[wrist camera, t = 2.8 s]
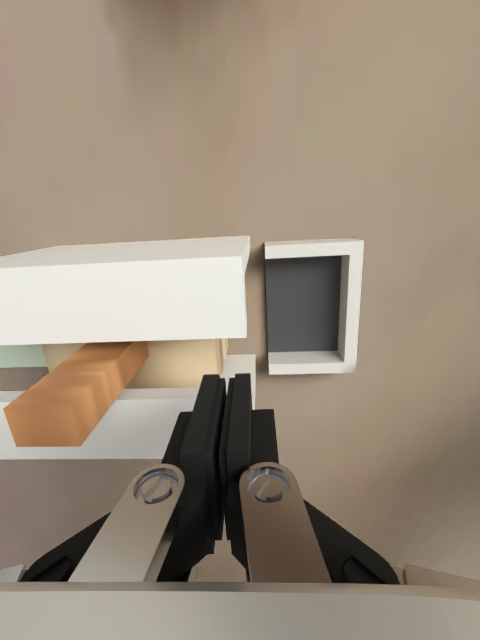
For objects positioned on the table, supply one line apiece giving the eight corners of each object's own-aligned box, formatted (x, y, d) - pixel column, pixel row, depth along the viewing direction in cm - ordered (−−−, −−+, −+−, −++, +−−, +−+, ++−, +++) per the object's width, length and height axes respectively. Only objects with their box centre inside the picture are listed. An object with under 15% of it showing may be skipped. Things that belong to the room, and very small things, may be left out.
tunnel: (249, 235, 22) (241, 256, 13) (255, 365, 25) (253, 458, 16) (56, 246, 23) (-83, 272, 14) (85, 369, 27) (-11, 459, 17)
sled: (222, 267, 22) (172, 344, 10) (228, 346, 24) (193, 495, 12) (84, 273, 23) (-126, 353, 11) (100, 350, 25) (-60, 493, 13)
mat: (44, 254, 24) (42, 254, 23) (72, 364, 26) (71, 365, 26) (-57, 259, 24) (-60, 259, 24) (-19, 367, 27) (-21, 368, 27)
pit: (353, 237, 22) (363, 240, 20) (346, 357, 25) (355, 372, 23) (264, 242, 22) (264, 246, 20) (268, 359, 25) (269, 374, 23)
